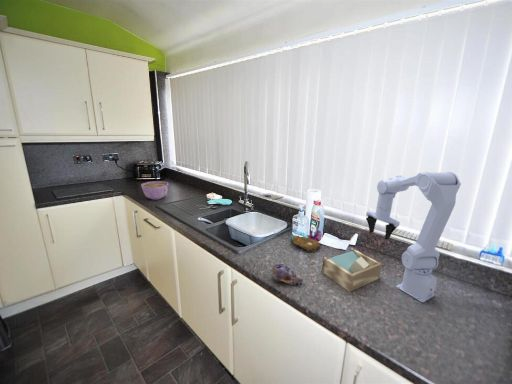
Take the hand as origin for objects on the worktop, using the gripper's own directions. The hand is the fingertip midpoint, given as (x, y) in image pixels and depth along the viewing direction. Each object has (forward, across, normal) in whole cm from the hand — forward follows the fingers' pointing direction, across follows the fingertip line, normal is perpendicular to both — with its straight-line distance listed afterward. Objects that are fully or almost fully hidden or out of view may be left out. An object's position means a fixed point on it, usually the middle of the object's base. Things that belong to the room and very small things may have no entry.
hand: (378, 235), depth 108 cm
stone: (+8, -6, +22) cm, 24 cm away
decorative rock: (+11, +23, +23) cm, 35 cm away
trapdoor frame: (+10, -5, +23) cm, 26 cm away
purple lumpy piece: (+11, +4, +48) cm, 49 cm away
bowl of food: (+11, +137, +77) cm, 157 cm away
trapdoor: (+7, -4, +23) cm, 24 cm away
